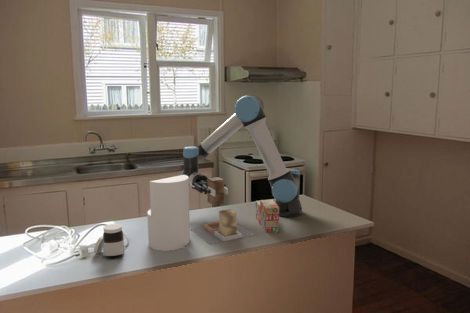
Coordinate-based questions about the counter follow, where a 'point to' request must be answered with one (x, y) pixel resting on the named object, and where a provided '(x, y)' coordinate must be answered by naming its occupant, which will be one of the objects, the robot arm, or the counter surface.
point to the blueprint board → (213, 236)
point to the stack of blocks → (268, 215)
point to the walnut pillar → (219, 187)
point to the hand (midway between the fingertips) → (221, 192)
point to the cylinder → (169, 213)
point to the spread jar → (111, 242)
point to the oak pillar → (227, 222)
